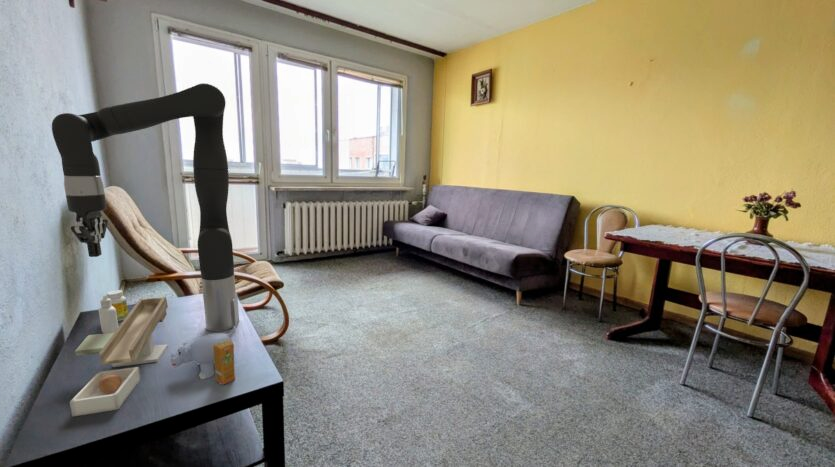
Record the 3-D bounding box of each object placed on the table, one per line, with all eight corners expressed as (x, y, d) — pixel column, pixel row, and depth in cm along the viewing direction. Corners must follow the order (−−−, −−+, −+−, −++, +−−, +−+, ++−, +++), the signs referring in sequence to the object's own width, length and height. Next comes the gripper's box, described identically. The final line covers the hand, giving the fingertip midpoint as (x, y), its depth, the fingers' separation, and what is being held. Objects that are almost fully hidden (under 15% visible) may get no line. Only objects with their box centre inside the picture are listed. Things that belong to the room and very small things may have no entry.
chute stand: (168, 346, 101) (165, 326, 99) (157, 361, 93) (154, 339, 92) (126, 351, 98) (123, 330, 96) (112, 367, 90) (108, 344, 89)
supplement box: (223, 386, 84) (219, 348, 82) (215, 381, 86) (212, 344, 84) (236, 379, 87) (233, 342, 85) (228, 374, 88) (225, 338, 87)
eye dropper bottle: (120, 326, 112) (115, 291, 109) (118, 333, 107) (113, 297, 105) (102, 329, 109) (96, 294, 107) (100, 337, 105) (93, 300, 103)
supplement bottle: (108, 318, 117) (104, 291, 115) (128, 314, 121) (125, 288, 119) (107, 323, 113) (103, 296, 111) (128, 319, 117) (124, 292, 115)
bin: (140, 379, 86) (138, 366, 85) (118, 409, 75) (116, 395, 75) (100, 385, 83) (98, 372, 82) (72, 416, 73) (69, 401, 72)
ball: (122, 369, 81) (114, 382, 78) (126, 381, 83) (119, 395, 80) (101, 372, 80) (92, 385, 77) (106, 384, 82) (97, 398, 78)
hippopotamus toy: (171, 367, 91) (167, 333, 89) (234, 350, 100) (232, 319, 98) (174, 388, 83) (169, 352, 81) (242, 367, 92) (240, 334, 90)
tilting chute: (169, 312, 107) (165, 296, 105) (137, 367, 86) (132, 349, 84) (119, 316, 103) (115, 300, 101) (73, 375, 82) (66, 357, 80)
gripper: (88, 195, 87) (99, 261, 90) (115, 191, 99) (123, 249, 102) (50, 195, 84) (62, 263, 88) (82, 191, 97) (92, 251, 100)
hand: (95, 256), depth 95 cm, fingers closed
